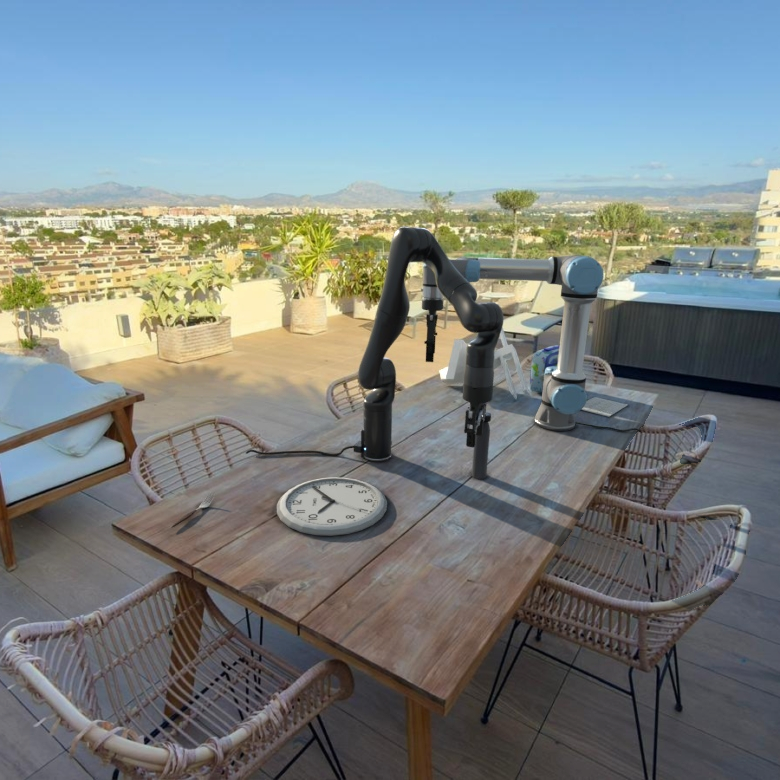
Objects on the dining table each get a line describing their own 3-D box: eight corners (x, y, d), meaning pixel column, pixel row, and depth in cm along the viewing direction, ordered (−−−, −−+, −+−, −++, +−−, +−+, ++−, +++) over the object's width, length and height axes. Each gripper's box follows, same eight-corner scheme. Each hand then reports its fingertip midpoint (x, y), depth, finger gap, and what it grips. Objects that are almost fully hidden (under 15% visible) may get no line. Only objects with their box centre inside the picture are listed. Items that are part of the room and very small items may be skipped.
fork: (167, 528, 130) (166, 521, 130) (209, 498, 145) (208, 492, 144) (175, 530, 130) (174, 523, 129) (216, 500, 144) (216, 494, 143)
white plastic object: (461, 429, 252) (437, 405, 227) (444, 352, 274) (420, 323, 250) (535, 404, 240) (518, 377, 215) (510, 326, 262) (492, 293, 237)
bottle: (483, 472, 164) (488, 411, 158) (488, 478, 160) (493, 417, 154) (469, 473, 163) (474, 412, 157) (474, 479, 159) (478, 417, 153)
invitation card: (608, 416, 214) (573, 407, 224) (608, 416, 214) (573, 408, 224) (628, 404, 229) (594, 396, 238) (628, 405, 229) (594, 397, 238)
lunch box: (546, 398, 236) (551, 353, 229) (525, 393, 243) (529, 349, 237) (573, 387, 253) (579, 344, 247) (553, 382, 260) (558, 341, 254)
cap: (487, 417, 158) (488, 410, 158) (492, 422, 154) (493, 415, 154) (473, 417, 158) (474, 411, 157) (478, 422, 153) (479, 416, 153)
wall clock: (392, 527, 129) (268, 531, 127) (391, 533, 130) (269, 537, 127) (383, 473, 158) (282, 475, 155) (383, 478, 158) (282, 480, 156)
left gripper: (470, 373, 141) (466, 429, 146) (456, 387, 128) (453, 448, 133) (498, 376, 138) (493, 433, 143) (487, 391, 126) (482, 453, 130)
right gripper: (424, 293, 195) (422, 349, 202) (419, 302, 172) (417, 365, 178) (444, 294, 195) (441, 350, 201) (442, 303, 171) (439, 366, 177)
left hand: (474, 440), depth 138 cm, fingers open, 8 cm apart
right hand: (430, 357), depth 190 cm, fingers open, 13 cm apart
